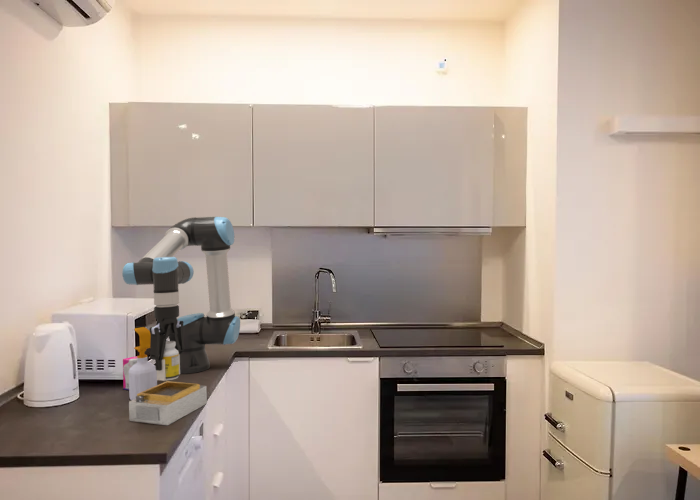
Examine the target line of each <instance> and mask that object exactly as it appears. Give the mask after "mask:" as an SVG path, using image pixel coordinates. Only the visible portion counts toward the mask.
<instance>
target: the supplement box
mask: <svg viewBox="0 0 700 500" xmlns="http://www.w3.org/2000/svg"><path fill="white" fill-rule="evenodd" d="M137 356H138V355H137ZM137 356H131V357H126V358H122V376H123V378H122V379H123V380H122V381H123V383H122V384H123V387H122V388H123V390H125V391H129V369H130V368H131V367H132V366H133V365H134V364H136V363H137Z"/></svg>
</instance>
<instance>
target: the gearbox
mask: <svg viewBox="0 0 700 500" xmlns="http://www.w3.org/2000/svg"><path fill="white" fill-rule="evenodd" d="M207 390H208V389H207V385H201V384H200V383H194V382H192V383H191V382H182V381H172V380H168V381H163V382H162V383H159V384H157V386H154V387H152V388H150V389H147V390H145V391H143V392H140V393H138V394H137V396H136V399H134V400H129V401H128V415H129V419H128V420H129V421H130V422H136V423H143V424H152V425H153V424H154V425H160V426H169V425H171V424H173V423H174V422H176V421H178V420H180V419H181V418H183V417H186V416H187V415H189V414H191V413H193V412H194V411H196V410H198V409H200V408H201V407H203V406H205V405H207V403H208V400H207V398H208V397H207V396H208V395H207V393H208V392H207Z"/></svg>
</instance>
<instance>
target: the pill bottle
mask: <svg viewBox="0 0 700 500" xmlns="http://www.w3.org/2000/svg"><path fill="white" fill-rule="evenodd" d="M175 346H176V342H175V341H170V340H166V345H165V350H164V356H163V359H165V377H166V380H165V381H164V382H166V381H173V380H176V379H178V378H179V377H180V374H179V352H178V350H177V349H175ZM159 356H160V355H159Z"/></svg>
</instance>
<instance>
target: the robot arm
mask: <svg viewBox="0 0 700 500" xmlns="http://www.w3.org/2000/svg"><path fill="white" fill-rule="evenodd" d="M234 242H235V231H234V226H233V224H232V222H231V220H230V219H229V218H228V217H226V216H225V217H224V216H207V217H206V216H203V217H201V216H200V217H188V218H186V219H183V220H181V221H178V222H176V223H175V224H174V225H172V226H171V227H170V228H168V229H167V230H166V231H165V233H164V237H162V239H160V241H158V242H157V243H156V244H155V245H154V246H153V247H152V248H151V249H150V250H149V251H147V253H146V254H144V255H143V256H142V258H141V259H139V260H138V261H137V262H134V261H133V262H128V263H126V264H125V265H124V266H123V268H122V272H121V273H122V279H123V281H124V283H125V284H127V285H134V286H139V285H143V286H145V285H153V305H154V308H153V316H154V317H153V318H155V319H156V324H155V326H150V327H149V331H150V334H151V341H150V348H149V349H150V351H149V359H150V360H154V361H155V366H156V370H157V381H161V382H162V381H163V382H166V381H165V380H166V377H165V359H163V356H164V350H165V345H166V341H167V340H168V339H169V340H168V341H175V342H176V346H175V349H177V350H178V352H179V375H181V374H194V373H200V372H204V371H206V370H208V369H210V367H211V366H210V359H209V357H208V354H207V351H206V345H223V346H225V345H232V344H235V343H236V342H237V340H238V338H239V335H240V329H241V319H240V317H239V316H237V315H236V314H235V310H234V309H232V308H231V294H230V293H231V292H230V281H229V280H230V278H229V265H228V262H229V261H228V252H229V251H230V249H231V246H232V245H233V244H234ZM194 246H195V247H196V246H199V247H200V249H201V250H200V251H201V252H202V253H203V254H205V264H206V265H205V266H206V275H207V277H206V278H207V290H208V292H207V293H208V302H209V305H208V306H209V311H208V312H207V313H206V316H205V314H204V313H203V312H202V313H201V312H198V313H191V314H187V315H183V316H180V306H179V305H178V304H179V303H180V296H179V295H180V293H179V285H181V284H186V283H188V282H189V281H191V279H193V276H194V268H193V266H192V264H190V262H187V261H181V260H178V258H177V257H175V255H176V254H177V253H178V252H179V251H182V250H184V249H185V248H187V247H194ZM159 355H160V356H159Z"/></svg>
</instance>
